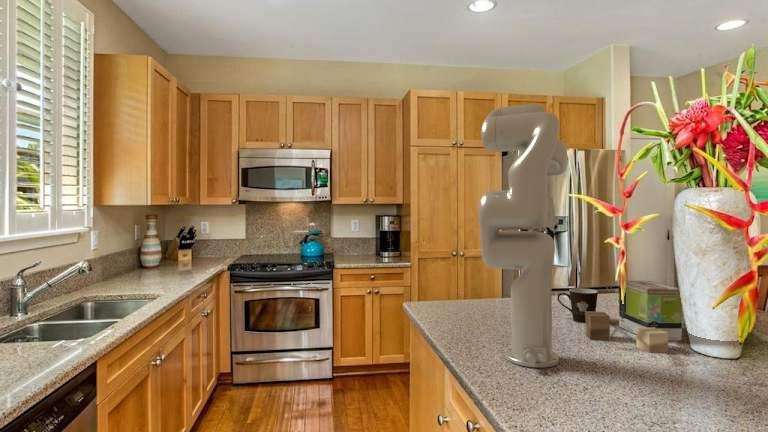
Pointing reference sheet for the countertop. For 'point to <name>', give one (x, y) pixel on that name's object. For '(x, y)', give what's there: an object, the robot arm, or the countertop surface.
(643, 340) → the beech block
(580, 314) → the coffee mug
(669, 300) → the tea box
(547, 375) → the countertop surface
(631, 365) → the countertop surface
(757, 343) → the countertop surface
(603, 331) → the walnut block
